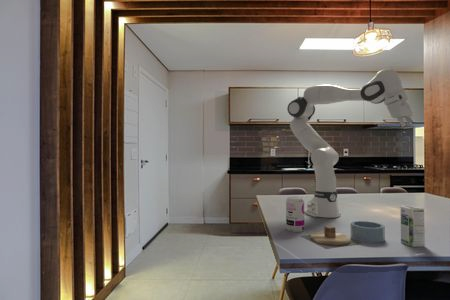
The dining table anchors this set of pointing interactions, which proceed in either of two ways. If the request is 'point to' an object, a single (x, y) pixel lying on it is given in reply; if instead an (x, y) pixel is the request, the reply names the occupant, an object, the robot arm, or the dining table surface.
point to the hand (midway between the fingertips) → (407, 125)
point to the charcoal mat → (352, 242)
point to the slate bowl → (367, 231)
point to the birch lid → (330, 237)
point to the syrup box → (412, 226)
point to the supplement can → (295, 214)
